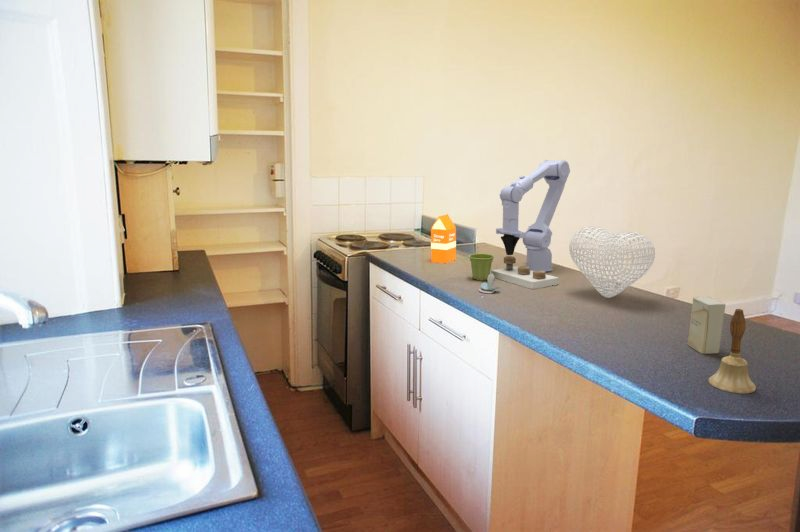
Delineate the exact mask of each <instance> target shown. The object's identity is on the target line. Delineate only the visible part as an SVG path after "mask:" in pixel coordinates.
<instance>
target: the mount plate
mask: <svg viewBox="0 0 800 532" xmlns="http://www.w3.org/2000/svg"><path fill="white" fill-rule="evenodd" d="M519 267H520V266H513V269H512V270H507V269H506V267H504V268H503V267H502V268H495V269H491V270H490V274H493V275H494V277H495V279H497V278H498V280H501V281H505V282H506V283H511V284H514V285H517V286H521V287H524V288H527V289H531V290H536V289H542V288H546V287H547V286H548V287H553V286H558V285H557V284H559V282H560V281H559V279H560V278H559V277H557V276H554V275H550V274H546V278H544V279H536V278H533V272H534V271H531V270H530V274H527V275H521V274H518V268H519ZM552 285H553V286H552Z"/></svg>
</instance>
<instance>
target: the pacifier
mask: <svg viewBox="0 0 800 532" xmlns="http://www.w3.org/2000/svg"><path fill="white" fill-rule="evenodd" d="M495 279H496V278H495V277H494V275H493V274H491V273H490V274H489V275H488V278H487V279H486V280H487V282H483V283H481V284H480V287H481V288H479V289H478V292H480V293H483V294H488V295H489V294H494V293H495V290H496V291H497V290H498V289H500V288H501V287H500V286H496V287H494V281H495Z"/></svg>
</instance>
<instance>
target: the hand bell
mask: <svg viewBox="0 0 800 532" xmlns="http://www.w3.org/2000/svg"><path fill="white" fill-rule="evenodd" d="M746 325H747V323H746V318H745V315H744V309H741V308H736V309H735V311H734V312H733V315H732V316H731V319H730V325H729V330H730V331H729V332H730V337H731V345H730V346H731V347H730V354H729V355H728V356H724V357H722V358H721V361H720V365H719V368H718V370H717V371H716V372H715V373H714V374H713V375H711V376H709V378H708V383H709V384H710V385H711V386H712V387H713V388H716V389H718V390H720V391H723V392H726V393H727V392H728V393H733V394H738V395H740V394H741V395H742V394H743V395H745V394H747V395H748V394H751V393H754V392H755V391H756V390H757V387H756V385H755V383H754V382H753V381H752V379H751V378H750V375H749V371H748V370H749V369H748V362H747V360H746V359H745V358H743V357H741V347H742V346H741V345H742V338H743V337H744V334H745V331H746Z"/></svg>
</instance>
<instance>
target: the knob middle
mask: <svg viewBox="0 0 800 532" xmlns="http://www.w3.org/2000/svg"><path fill="white" fill-rule="evenodd" d="M518 267H519V268H518V274H521V275H527V274H530V268H529V267H526V266H525V265H524V266H518Z"/></svg>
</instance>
